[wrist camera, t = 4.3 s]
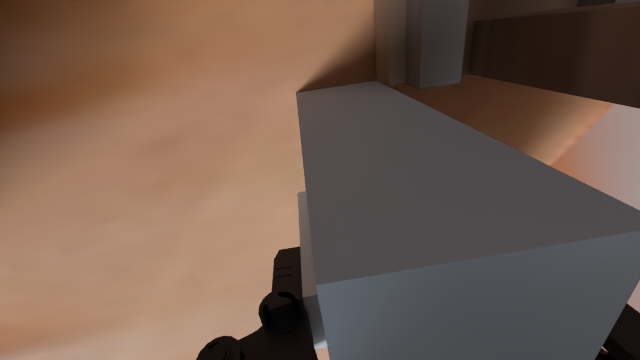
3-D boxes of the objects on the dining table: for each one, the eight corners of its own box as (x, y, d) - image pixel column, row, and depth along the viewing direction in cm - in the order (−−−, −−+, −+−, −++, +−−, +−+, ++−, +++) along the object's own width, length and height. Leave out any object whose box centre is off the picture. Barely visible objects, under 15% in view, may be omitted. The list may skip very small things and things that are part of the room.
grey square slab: (325, 270, 19) (368, 559, 9) (296, 92, 14) (316, 284, 3) (382, 260, 19) (495, 535, 9) (376, 80, 14) (670, 225, 3)
